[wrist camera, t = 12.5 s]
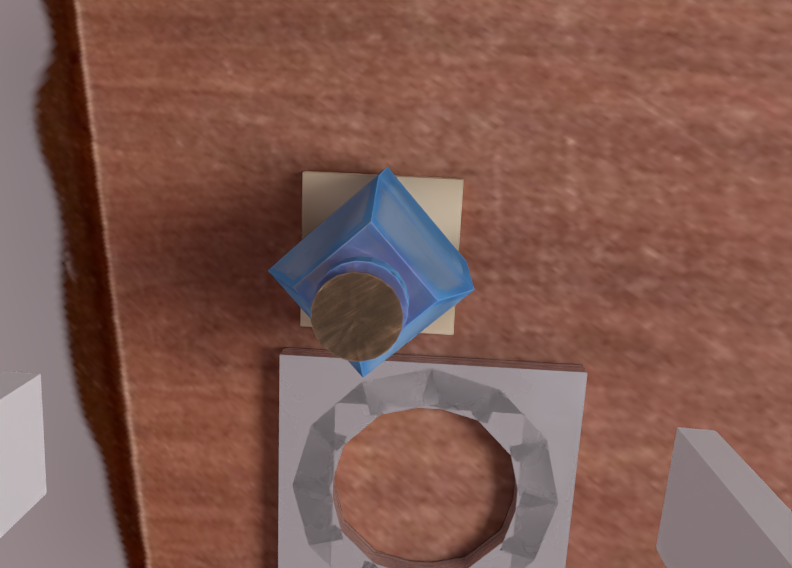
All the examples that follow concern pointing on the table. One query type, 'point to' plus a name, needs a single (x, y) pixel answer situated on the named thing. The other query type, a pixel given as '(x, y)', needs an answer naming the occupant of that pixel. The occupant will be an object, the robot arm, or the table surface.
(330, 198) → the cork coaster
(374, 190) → the perfume bottle
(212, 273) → the table surface
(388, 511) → the table surface
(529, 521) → the eye plate
